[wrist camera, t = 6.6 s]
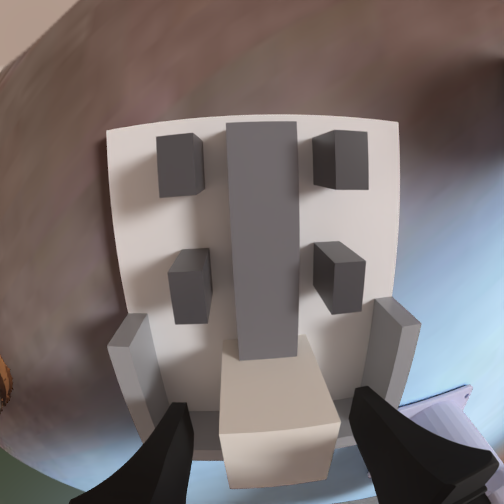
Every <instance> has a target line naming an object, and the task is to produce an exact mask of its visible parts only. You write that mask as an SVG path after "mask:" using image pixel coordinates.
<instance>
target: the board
mask: <svg viewBox="0 0 504 504" xmlns="http://www.w3.org/2000/svg"><path fill="white" fill-rule="evenodd" d="M259 121H297V140H298V169H299V222H300V268H299V321H298V335H302V334H306V336H307V339H308V341H309V344H310V346H311V348H312V351H313V353H314V356H315V358H316V361H317V363H318V366H319V368H320V371H321V373H322V376H323V378H324V380H325V383H326V385H327V388H328V390H329V393H330V395H331V398H332V400H333V403H334V405H335V408H336V410H337V413H338V416H339V418H340V421H341V424H340V428H339V433H338V437H337V441H336V445H335V449H338V448H343V447H348V446H353V445H357V444H356V442H355V439H354V437H353V433H352V430H351V426H350V423H349V419H348V418H349V414H350V410H351V405H352V401H353V396H354V391H355V388H358V387H363V386H369V387H370V388H371V389H372V390H374V391H375V392H376V393H377V394H378V395H379V396H381V397H382V398H383V399H384V400H385V401H387V402H388V403H389V404H390V405H391V406H393V407H394V408H395V409H397V410H398V407H399V404H400V401H401V398H402V395H403V392H404V388H405V385H406V382H407V379H408V375H409V372H410V368H411V364H412V361H413V357H414V353H415V349H416V345H417V341H418V337H419V332H420V328H421V323H420V322H419V321H418V320H417V319H416V318H415V317H414V316H413V315H412V314H411V313H410V312H408V311H407V310H406V309H405V308H404V307H403V306H402V305H401V304H400V303H399V302H397V301H396V300H395V299H394V298H393V297H392V291H393V283H394V274H395V265H396V254H397V241H398V226H399V203H400V149H399V127H398V122H393V121H385V120H376V119H365V118H354V117H340V116H322V115H237V116H218V117H205V118H193V119H183V120H173V121H165V122H157V123H150V124H143V125H136V126H130V127H124V128H118V129H112V130H107V157H108V174H109V188H110V199H111V209H112V218H113V227H114V234H115V242H116V249H117V255H118V262H119V268H120V274H121V279H122V285H123V290H124V295H125V300H126V305H127V310H128V314H127V316H126V317H125V319H124V320H123V322H122V323H121V325H120V327H119V328H118V330H117V331H116V333H115V334H114V336H113V337H112V339H111V340H110V342H109V344H108V345H107V349H108V352H109V355H110V358H111V361H112V365H113V368H114V371H115V374H116V377H117V380H118V382H119V385H120V388H121V391H122V394H123V396H124V399H125V402H126V404H127V407H128V409H129V412H130V414H131V417H132V419H133V422H134V424H135V426H136V429H137V431H138V433H139V436H140V438H141V440H142V442H143V444H144V443H145V441H146V440H147V439H148V438H149V436H150V435H151V433H152V432H153V431H154V429H155V428H156V426H157V425H158V424H159V422H160V421H161V419H162V418H163V416H164V414H165V413H166V411H167V409H168V408H169V406H170V404H171V403H172V402H187V406H188V410H189V414H190V418H191V422H192V426H193V430H194V451H193V458H192V460H197V461H224V458H223V453H222V448H221V443H220V437H219V417H220V393H221V371H222V351H223V340H232V339H238V335H237V321H236V307H235V292H234V276H233V260H232V243H231V225H230V206H229V186H228V165H227V142H226V123H231V122H259Z"/></svg>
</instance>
